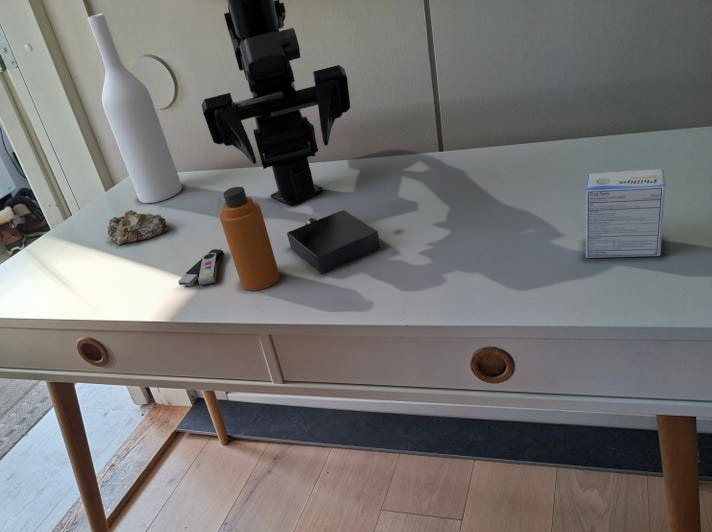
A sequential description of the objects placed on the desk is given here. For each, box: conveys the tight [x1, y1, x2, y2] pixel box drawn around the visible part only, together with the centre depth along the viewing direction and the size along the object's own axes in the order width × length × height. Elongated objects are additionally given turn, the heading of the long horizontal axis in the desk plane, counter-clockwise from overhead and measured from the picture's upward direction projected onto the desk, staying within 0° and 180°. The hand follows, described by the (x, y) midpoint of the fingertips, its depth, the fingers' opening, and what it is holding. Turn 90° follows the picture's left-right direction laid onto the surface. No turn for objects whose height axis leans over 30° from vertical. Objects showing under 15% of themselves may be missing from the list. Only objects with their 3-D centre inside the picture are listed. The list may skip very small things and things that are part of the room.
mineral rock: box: [107, 209, 169, 246], centre depth 113 cm, size 11×4×8 cm
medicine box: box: [585, 168, 666, 259], centre depth 78 cm, size 8×4×9 cm, turn 71°
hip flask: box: [286, 209, 382, 275], centre depth 96 cm, size 12×9×3 cm
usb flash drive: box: [178, 248, 225, 287], centre depth 97 cm, size 9×5×1 cm, turn 155°
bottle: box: [87, 13, 183, 204], centre depth 119 cm, size 8×8×30 cm
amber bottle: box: [218, 186, 280, 291], centre depth 89 cm, size 5×5×13 cm
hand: (290, 152), depth 87 cm, fingers open, 9 cm apart
